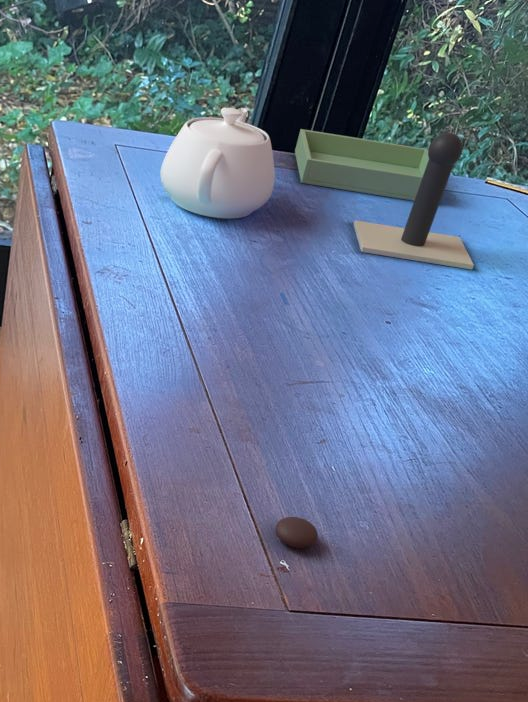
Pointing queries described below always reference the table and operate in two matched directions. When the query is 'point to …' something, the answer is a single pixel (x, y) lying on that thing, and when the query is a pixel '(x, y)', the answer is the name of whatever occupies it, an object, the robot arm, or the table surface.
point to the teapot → (220, 166)
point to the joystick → (422, 216)
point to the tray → (360, 164)
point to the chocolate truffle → (296, 532)
